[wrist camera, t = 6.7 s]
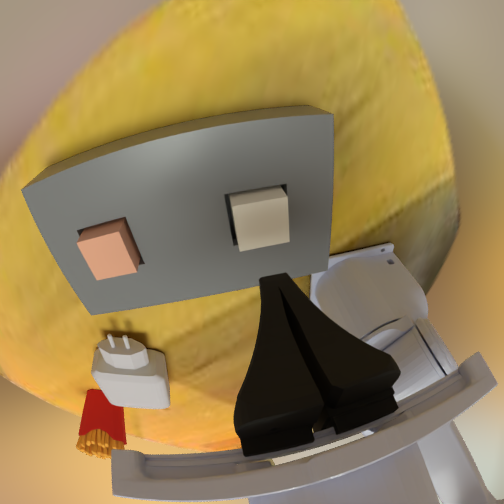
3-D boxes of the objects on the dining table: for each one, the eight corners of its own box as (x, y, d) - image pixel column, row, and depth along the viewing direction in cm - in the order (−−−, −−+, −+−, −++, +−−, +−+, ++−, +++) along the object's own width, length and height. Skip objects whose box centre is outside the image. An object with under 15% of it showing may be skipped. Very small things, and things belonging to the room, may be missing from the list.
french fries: (123, 392, 36) (122, 458, 27) (129, 400, 39) (128, 462, 29) (78, 387, 34) (72, 450, 25) (86, 396, 37) (82, 455, 27)
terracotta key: (128, 207, 17) (118, 231, 15) (143, 245, 19) (137, 272, 17) (90, 218, 17) (76, 242, 14) (106, 253, 19) (96, 280, 16)
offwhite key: (274, 177, 18) (287, 196, 15) (277, 218, 20) (289, 241, 17) (226, 185, 17) (232, 206, 15) (233, 226, 19) (239, 251, 17)
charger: (160, 319, 27) (169, 381, 36) (82, 314, 25) (111, 377, 34) (159, 356, 24) (170, 409, 32) (73, 349, 21) (108, 405, 30)
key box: (308, 105, 17) (333, 114, 14) (311, 241, 24) (327, 270, 21) (46, 167, 15) (21, 189, 12) (100, 283, 23) (91, 315, 20)
